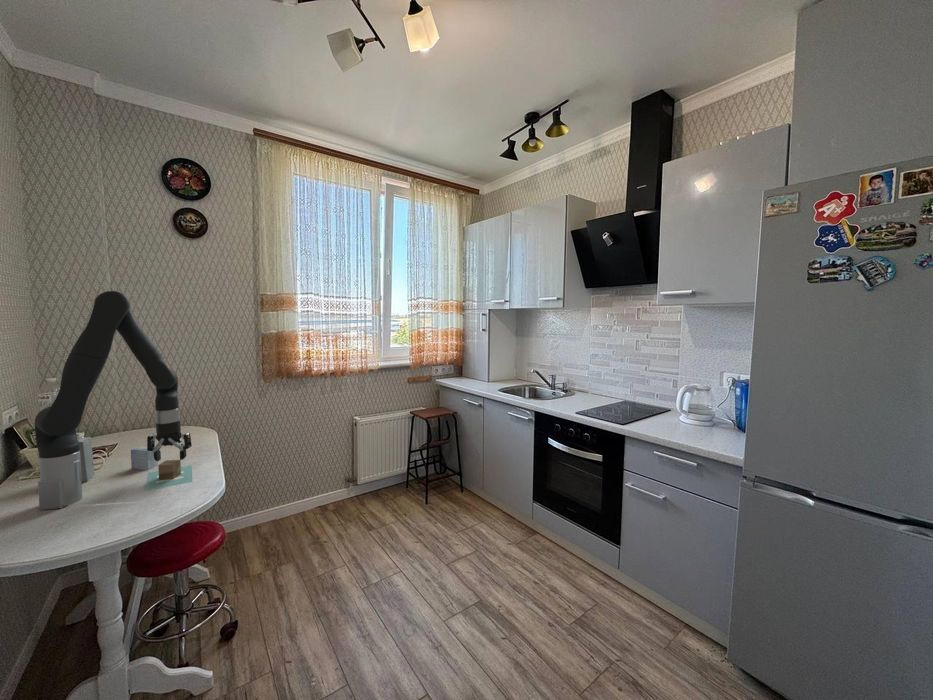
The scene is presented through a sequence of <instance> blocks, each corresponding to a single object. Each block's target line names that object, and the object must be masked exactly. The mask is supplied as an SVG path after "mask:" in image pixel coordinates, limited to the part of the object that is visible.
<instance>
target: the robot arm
mask: <svg viewBox="0 0 933 700" xmlns="http://www.w3.org/2000/svg"><path fill="white" fill-rule="evenodd" d="M116 331H117V332H118V333H119V335H120V336H121V337H122V339H123V341H124V342H125V343H126V345H127V347H128V348H129V350H130V351H131V352H132V354H133V356H134V357H135V358H136V359H137V361H138V362H139V363H140V365H141V366H142V368H143V369H144V370H145V373H146V375H147V377H148V379H149V380H150V382H151V383H152V385H154V387H155V390H156V393H155V394H156V395H155V400H154V404H155V405H154V406H155V416H154V418H155V420H154V421H155V433H156V435H155V434H154V433H153V434H150V435H148V436H146V437H147V438H146V442H147V443H146V447H147V450H148V451H153V453H154V460H155V461H158V462H159V461H161V460H162V455H161V452H162V451H161V449H162V447H168V446H170V447H172V446H174V447H175V448H177V449H178V450H179V460H180V461H183V460H184V459H186V457H187V450H188V449H189V448H191V447H192V445H193V444H192V438H191V433H190V432H187V433H182V432H181V430H182V426H181V413H180V412H181V411H180V408H179V397H178V389H179V388H178V385H179V377H178V375H177V373H176V372H175V371H174V370H172V369H170V368H169V367H168V365H167V363H166V362H165V358H164V356H163V354H162V353H161V352H160V350H159V349H158V347H157V346H156V345H155V344H154V343H155V342H153V341H152V340H151V338H150V337H149V336H148V335H147V334H146V333H145V331H144V330H143V329H142V328H141V327H140V325H139V324H138V322H137V320H136V319H135V317H134V315H133V313H132V311H131V301H130V300H129V298H128V296H126V295H125V294H124V293H122V292H119V291H115V290H109V291H104V292H101V293H99V294H98V295H97V296H96V297H95V299H94V304H93V307H92V311H91V314H90V317H89V320H88V322H87V324H86V326H85V328H84V330H83V331H82V332H81V334H80V335H79V336H78V339H76V341H75V343H74V345H73V347H72V349H71V350H70V352H69V354H68V356H67V358H66V360H65V362H64V365H63V369H62V373H61V379H60V385H59V389H58V393H57V395H56V396H55V399H54V401H53V402H52V404H51V406H47V407H45V408H43V409H41V410H40V411H39V412H38V413H37V414H36V416H35V418H34V433H35V443H36V448H37V452H38V460H39V461H38V463H39V477H40V480H39V481H37V489H38V490H37V491H38V492H37V493H38V505H39V511H40V510H41V511H42V510H43V511H44V510H55V509H56V510H57V508H60V509H63V508H65V507H68V506H70V505H73V504H75V503H79V502H80V501H81V500H83V482H82V478H81V461H80V444H79V441H78V439H79V438H78V435H77V428H78V427H79V426H80V424H81V422H82V420H83V415H84V412H85V408H86V405H87V402H88V399H89V397H90V394H91V392H92V390H93V389H94V387H95V385H96V383H97V381H98V379H99V377H100V375H101V373H102V371H103V369H104V366H105V364H106V362H107V360H108V357H109V354H110V352H111V349H112V345H113V341H114V337H115V333H116ZM181 438H182V439H181ZM156 440H157V441H158V443H157V444H155V443H156ZM67 505H68V506H67ZM64 506H65V507H64Z"/></svg>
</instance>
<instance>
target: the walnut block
mask: <svg viewBox="0 0 933 700" xmlns="http://www.w3.org/2000/svg"><path fill="white" fill-rule="evenodd" d="M181 461H182V460H180V459H168V460H167V459H166V460H165V461H162V462H161V463H158V466H157V468H158V471H159V480H168V479H175V478H176V477H177V476H179V475H180V474H181V467H182V466H181V465H182V464H181V463H182V462H181Z"/></svg>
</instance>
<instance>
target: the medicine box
mask: <svg viewBox="0 0 933 700" xmlns="http://www.w3.org/2000/svg"><path fill="white" fill-rule="evenodd" d="M130 460H131V461H130V462H131V464H130V465H131V469H132V470H145V471H149V470H152V469H155V468H156V467H157V468H158V465H159V461H155V460H154V453H153V451H148V450H147V446H138V447H135V448H133V449H130Z"/></svg>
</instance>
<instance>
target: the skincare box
mask: <svg viewBox="0 0 933 700" xmlns="http://www.w3.org/2000/svg"><path fill="white" fill-rule="evenodd" d="M77 439H78V441H79V444H80V461H81V478H82V483H85V481H87V482H89V480H90V479H91V478H93V476H94V475H95V466H94V465H95V464H94V456H93V449H92V448H93V446H92V437H91V436H87V437H82V438H81V437H80V438H77Z"/></svg>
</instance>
